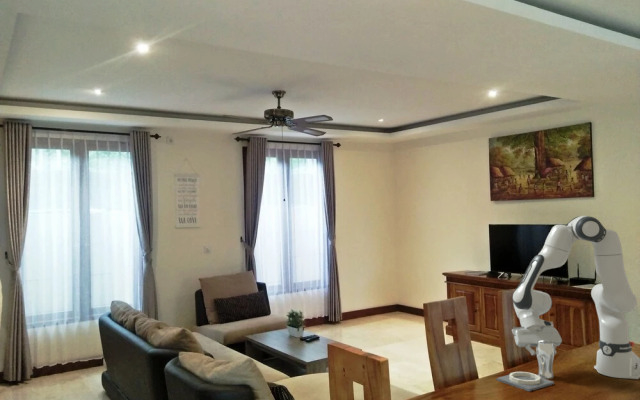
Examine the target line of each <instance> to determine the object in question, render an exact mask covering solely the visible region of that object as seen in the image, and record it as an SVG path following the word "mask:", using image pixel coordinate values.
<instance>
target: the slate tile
mask: <svg viewBox="0 0 640 400" xmlns="http://www.w3.org/2000/svg"><path fill="white" fill-rule="evenodd" d="M496 381H498V382H500V383H504V384H505V385H506V384H507V385H508V386H509V385H510V386H512V387H514V386H515V387H514V388H517V389H521V390H523V389H524V391H525V392H526V391H527V392H532V390H533V391H535V390H539V389H542V388H545V387H546V388H547V387H549V386H553V385H554V384H555V381H553V380H549V379H546V378H541V377H539V376H538V374H535V373H532V372H529V371H528V372H527V371H513V372H510V373H509V374H507V375H503V376H499V377H496ZM552 384H553V385H552Z"/></svg>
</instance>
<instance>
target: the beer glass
mask: <svg viewBox="0 0 640 400" xmlns="http://www.w3.org/2000/svg"><path fill="white" fill-rule="evenodd" d="M539 342H544V343H539ZM535 350H536V351H535V352H536V358H537V363H538V374H537V375H538V376H539V377H541V378H543V379H547V380H549V379H553V378H554V372H553V364H554V363H553V362H554V357H555V354H554V348H553V342H551V341H547V340H538V341H537V346H536V349H535Z"/></svg>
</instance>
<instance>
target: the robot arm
mask: <svg viewBox="0 0 640 400" xmlns="http://www.w3.org/2000/svg"><path fill="white" fill-rule="evenodd" d="M578 240H580V241H587V242H590V243H591V244H592V247H593V257H594V265H595V266H594V267H595V273H596V274H597V276H598V278H599V280H600V283H598V284H596V285H594V286H593V287H592V289H591V292H590V295H591V298H592V301H593V302H594V304H595V309H596V314H597V317H598V323H599V339H598V347H599V349H598V350H597V351H596V364H595V365H593V368H594V369H595V370H596V371H597V372H598V374H601V375H603V376H607V377H611V378H618V379H632V380H639V379H640V357H639V356H638V355H636V353H635V352H634V351H633V348H634V347H635V342H634V341H630V339H629V338H630V335H629V333H630V331H629V328H630V327H629V324H628V323H629V322H628V321H627V320H626V318H625V314H624V313H631V312H633V311H634V310H635V309H636V307H637V305H638V300H637V299H638V298H637V297H636V295H635V294H634V292H633V291H632V288H631V285H630V282H629V280H628V277H627V274H626V271H625V270H626V269H625V263H624V257H623V255H624V254H623V248H622V244H621V240H620V237H619V234H618V232H616V231H615V230H613V229H608V228H605V227H604V225H603V224H602V223H601V222H600V220H599V219H597V218H596V217H593V216H590V215H589V216H588V215H579V216H575V217H573V218H572V219H571V220H570V221H568V222H567V223H566V224H555V225H554V226H552V227H551V229H550V232H548V235H547V237H546V239H545V242H544V245H543V247H542V248H541V250H540V251H539V252H538V254H537V255H535V256H534V257H533V258H532V259H531V261H530V262H529V265H528V266H527V268H526V270H525V272H524V274H523V276H522V278H521V280H520V282H519V284H518V285H517V287H516V288H515V290H514V291H513V293H512V302H513V308H514V311H515V314H516V316H517V318H518V320H519V323H520V324H519V325H520V326H519V327H517V326H514V327H513V328H512V329H511V332H512V335H513V336H514V337H513V339H514V341H515V342H514V343H515V344H516V346H517V347H519V348H525V350H527V351H528V352H529V353H530V355H531V356H536V355H537V352H536V351H535V350H536V349H533V348H532V347H534V348H535V347H536V346H537V341H538V340H547V341H551V342H553V348H554V355H556V354H557V350H556V348H557V347H559V346H560V345H561V344H562V342H563V339H562V337H561V334H560V332H558V330H557V329H556V328H555V327H554V323H553V322H552V321H548V320H545V319H542V318H540V316H543V315H544V314H546V313H548V312H549V311H550V310H551V309H552V306H553V300H552V297H551V295H550V294H549V293H547V292H543V291H541V290H536V289H534V287H535V285H536V283H537V281H538V278H539V277H540V276H541V274H542V273H543V272H545V271H547V270H551V269H556V268H561V267H563V265H565V264H566V262H567V261H568V258H569V255H570V253H571V249H572V247H573V245H574V243H575V242H576V241H578ZM539 343H544V342H539ZM632 347H633V348H632Z"/></svg>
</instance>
